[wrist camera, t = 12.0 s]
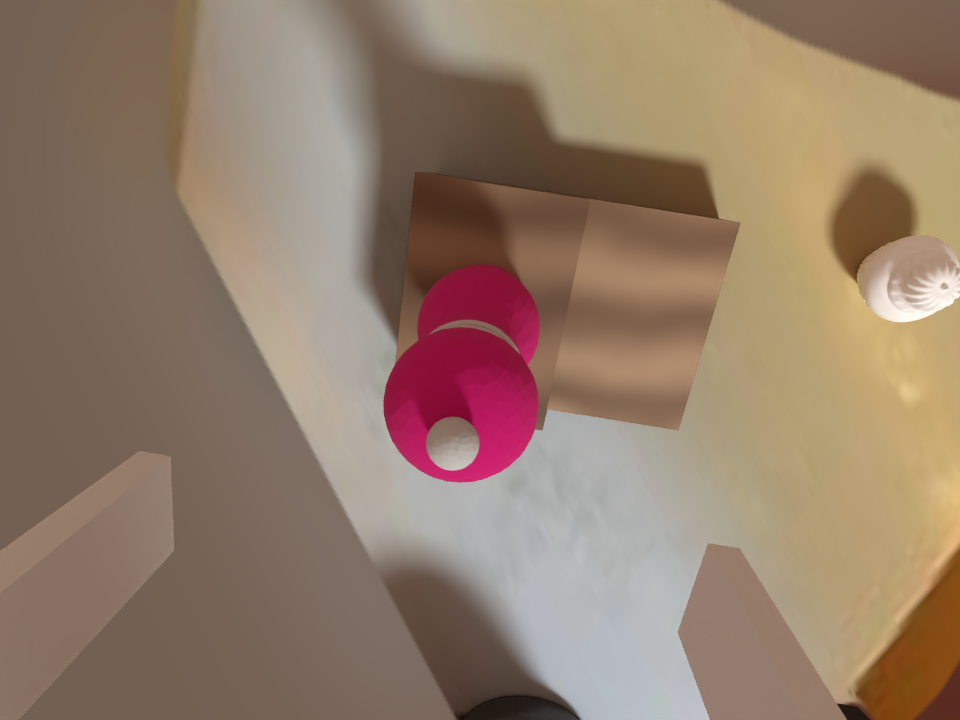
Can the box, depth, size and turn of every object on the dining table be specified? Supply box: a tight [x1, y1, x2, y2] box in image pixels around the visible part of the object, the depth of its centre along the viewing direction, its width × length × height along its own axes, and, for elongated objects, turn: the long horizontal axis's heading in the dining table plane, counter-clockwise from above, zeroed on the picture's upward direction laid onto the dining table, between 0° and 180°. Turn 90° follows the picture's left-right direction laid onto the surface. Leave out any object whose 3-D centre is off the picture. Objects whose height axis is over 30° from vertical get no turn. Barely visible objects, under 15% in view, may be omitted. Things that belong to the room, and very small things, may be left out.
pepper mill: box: [384, 264, 540, 482], centre depth 27 cm, size 7×7×20 cm
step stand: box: [395, 172, 740, 430], centre depth 40 cm, size 16×22×8 cm
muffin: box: [857, 235, 960, 322], centre depth 38 cm, size 6×6×7 cm
